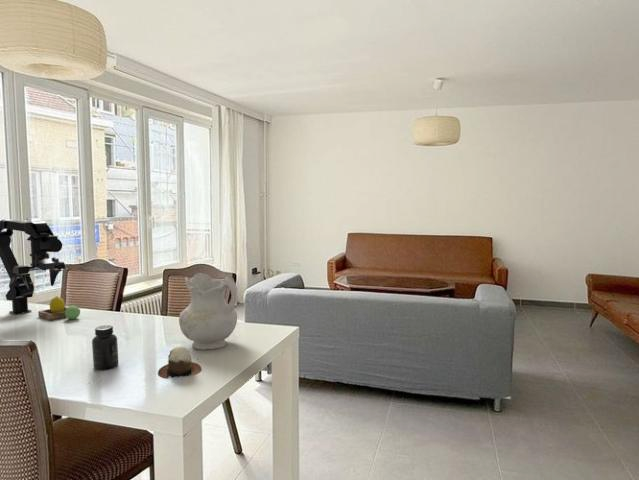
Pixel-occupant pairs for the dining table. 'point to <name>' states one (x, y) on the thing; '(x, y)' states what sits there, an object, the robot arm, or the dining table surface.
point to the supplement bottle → (104, 348)
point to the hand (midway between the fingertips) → (41, 287)
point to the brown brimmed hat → (179, 364)
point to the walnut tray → (51, 314)
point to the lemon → (57, 305)
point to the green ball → (72, 312)
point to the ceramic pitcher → (209, 312)
